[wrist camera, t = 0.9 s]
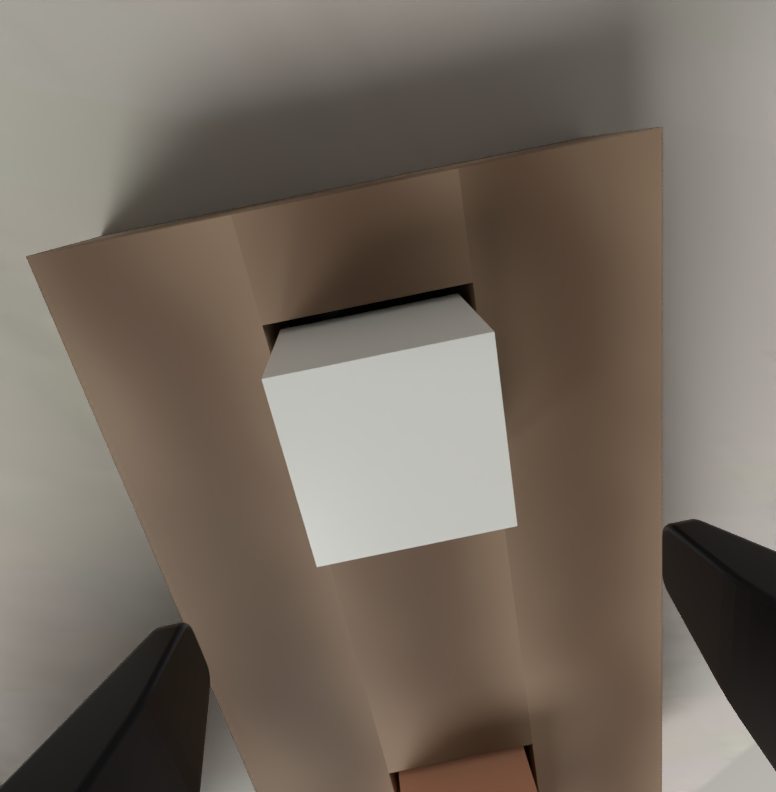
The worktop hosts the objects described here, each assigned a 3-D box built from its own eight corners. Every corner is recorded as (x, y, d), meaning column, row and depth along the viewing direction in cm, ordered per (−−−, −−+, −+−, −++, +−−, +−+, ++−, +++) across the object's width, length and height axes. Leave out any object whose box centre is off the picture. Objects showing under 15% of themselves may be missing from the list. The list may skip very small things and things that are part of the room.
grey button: (321, 483, 15) (316, 567, 12) (280, 329, 14) (261, 379, 10) (480, 451, 15) (517, 525, 12) (458, 293, 14) (494, 331, 10)
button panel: (315, 813, 26) (311, 921, 22) (99, 236, 16) (26, 256, 12) (615, 751, 26) (661, 849, 22) (587, 137, 16) (662, 126, 12)
